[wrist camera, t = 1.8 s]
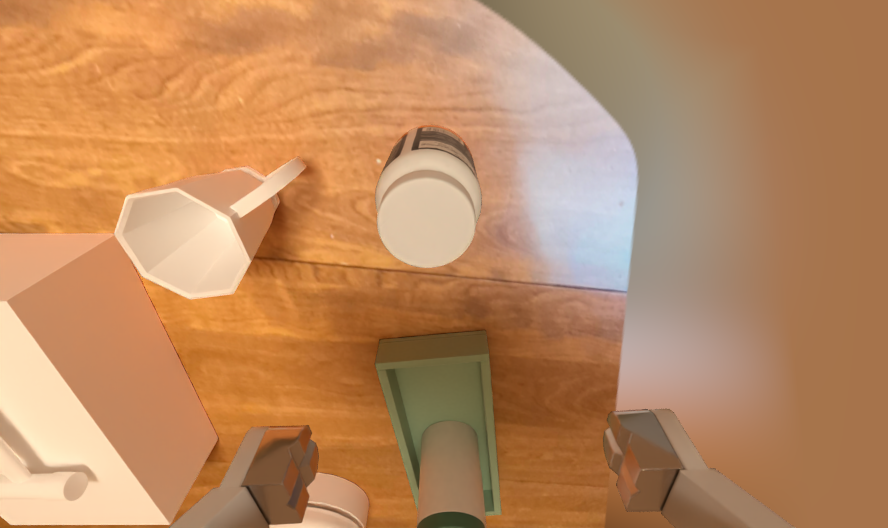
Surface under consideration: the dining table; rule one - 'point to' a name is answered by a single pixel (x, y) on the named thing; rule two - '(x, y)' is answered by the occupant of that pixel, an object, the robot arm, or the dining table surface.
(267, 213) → the cup
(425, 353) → the bottle tray
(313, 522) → the honey pot
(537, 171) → the dining table surface
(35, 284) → the hammer embossed box
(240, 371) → the dining table surface
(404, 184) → the pill bottle
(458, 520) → the white bottle
